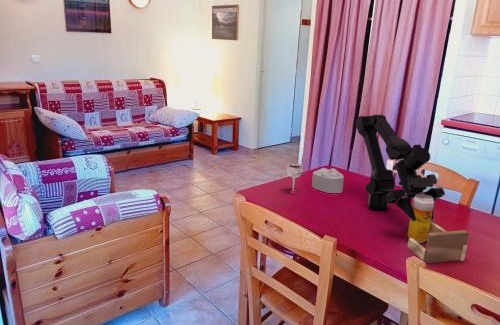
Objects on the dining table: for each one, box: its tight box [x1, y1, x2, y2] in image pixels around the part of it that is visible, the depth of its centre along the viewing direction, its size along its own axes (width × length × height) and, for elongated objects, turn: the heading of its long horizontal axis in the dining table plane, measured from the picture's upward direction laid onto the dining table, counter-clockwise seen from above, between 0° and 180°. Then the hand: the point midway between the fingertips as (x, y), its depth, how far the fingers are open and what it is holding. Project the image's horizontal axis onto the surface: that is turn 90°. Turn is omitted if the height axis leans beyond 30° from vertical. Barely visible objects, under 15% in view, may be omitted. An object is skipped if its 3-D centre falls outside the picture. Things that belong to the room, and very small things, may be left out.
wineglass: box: [286, 162, 304, 191], centre depth 162 cm, size 7×7×12 cm
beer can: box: [407, 194, 435, 244], centre depth 124 cm, size 6×6×15 cm
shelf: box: [407, 220, 470, 264], centre depth 121 cm, size 19×12×9 cm, turn 12°
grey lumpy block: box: [311, 167, 345, 194], centre depth 167 cm, size 10×13×9 cm
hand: (423, 220), depth 123 cm, fingers closed on beer can, 6 cm apart
